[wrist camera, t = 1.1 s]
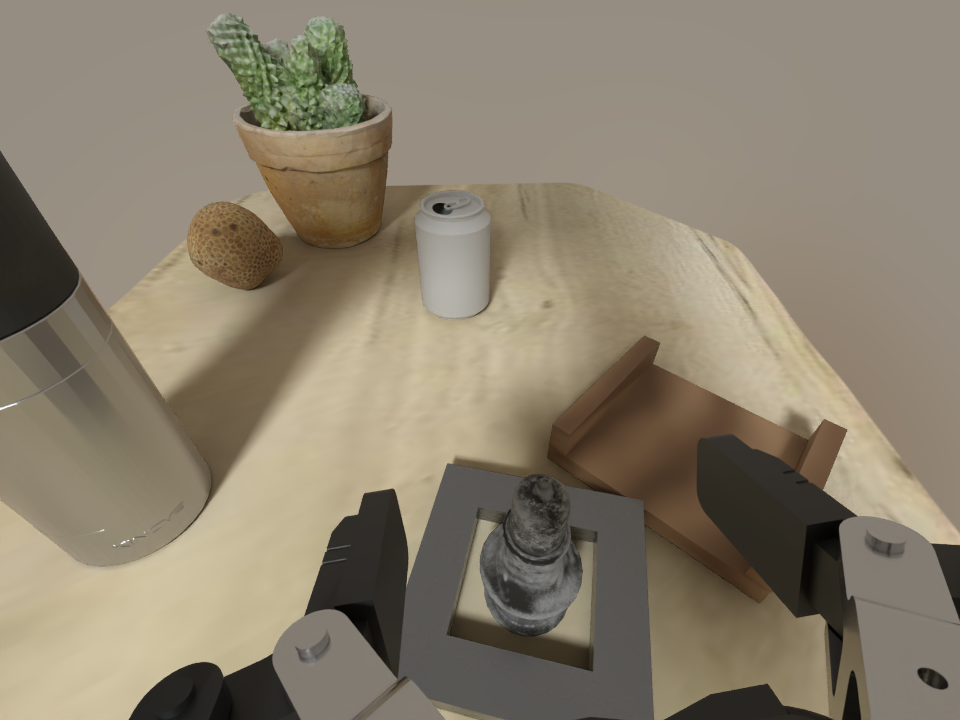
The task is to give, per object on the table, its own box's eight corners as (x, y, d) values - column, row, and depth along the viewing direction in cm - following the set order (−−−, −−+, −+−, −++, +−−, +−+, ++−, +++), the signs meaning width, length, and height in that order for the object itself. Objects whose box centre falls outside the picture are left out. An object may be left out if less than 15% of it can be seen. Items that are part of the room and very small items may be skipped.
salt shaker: (560, 539, 31) (588, 423, 23) (585, 635, 27) (631, 533, 19) (474, 549, 31) (473, 434, 23) (486, 648, 26) (489, 550, 18)
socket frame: (378, 691, 25) (374, 683, 24) (448, 475, 35) (447, 463, 34) (648, 766, 22) (655, 761, 21) (638, 511, 33) (643, 500, 32)
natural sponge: (188, 293, 53) (147, 210, 47) (250, 259, 59) (221, 181, 52) (244, 315, 50) (208, 230, 43) (303, 277, 56) (279, 196, 49)
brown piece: (547, 457, 36) (552, 423, 34) (634, 368, 44) (644, 335, 41) (759, 602, 28) (788, 574, 25) (819, 462, 36) (847, 429, 33)
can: (415, 293, 53) (404, 191, 45) (476, 281, 55) (476, 181, 47) (432, 330, 48) (423, 222, 40) (499, 316, 50) (503, 210, 42)
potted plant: (348, 194, 75) (311, 0, 58) (432, 225, 67) (418, 9, 50) (245, 234, 64) (165, 11, 48) (331, 278, 56) (268, 25, 39)
